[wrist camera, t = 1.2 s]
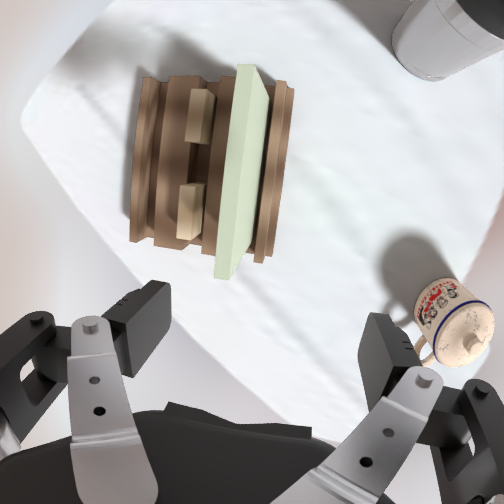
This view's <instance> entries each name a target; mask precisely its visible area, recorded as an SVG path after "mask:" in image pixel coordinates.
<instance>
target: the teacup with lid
mask: <svg viewBox="0 0 504 504" xmlns="http://www.w3.org/2000/svg"><path fill="white" fill-rule="evenodd" d="M414 316H415V321H416V323H417V325H418V327H419V328H420V330H421V332H422V333H423V335H422V336H421V337H420V338H419V339H418V341H417V342H416V344H415V346H414V350H415V351H416V353H417V355H418V357H419V356H420V351H421V349H422V347H423V346H424V344H425V343H426V342H427V341H428V343H429V344H430V346H431V347H432V349H433V352H432V353H431V354H430V355H429V356H428V357H426V358H425V359H423V360H420V361H421V363H422V365H423V367H427V366H429V365H430V364H432V363H433V362H434V361H435V360H436V359H437V360H438V361H439V362H440V363H441V364H443V365H445V366H448V367H460V366H464V365H466V364H468V363H470V362H472V361H473V360H475V359H476V358H477V357H478V356H479V355H480V354H481V353H482V352H483V351H484V350H485V349H486V347H487V346H488V344H489V342H490V340H491V338H492V335H493V331H494V316H493V313H492V310H491V308H490V307H489V306H488V305H487V304H486V303H484V302H482V301H480V300H479V299H478V298H476V297H475V296H474V295H473V294H472V293H471V292H470V291H468V290H467V289H466V288H465V287H464V286H463V285H462V284H460V283H459V282H458V281H456V280H454V279H451V278H442V279H438V280H436V281H434V282H432V283H431V284H429V285H428V286H427V287H426V288H425V289H424V290H423V291H422V293H421V294H420V296H419V297H418V299H417V302H416V305H415V310H414ZM419 359H420V358H419Z"/></svg>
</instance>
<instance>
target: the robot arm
mask: <svg viewBox="0 0 504 504" xmlns="http://www.w3.org/2000/svg"><path fill="white" fill-rule="evenodd" d="M392 47H393V50H394V53H395V55H396V57H397V58H398V60H399V61H400V63H401V64H402V65H403V66H404V67H405V68H406V69H407V70H408V71H409V72H410V73H412V74H414V75H415V76H417V77H419V78H421V79H424V80H428V81H439V80H443V79H445V78H446V77H448V76H450V75H452V74H454V73H456V72H458V71H460V70H462V69H464V68H466V67H468V66H470V65H472V64H474V63H476V62H478V61H480V60H482V59H484V58H486V57H488V56H490V55H492V54H495V53H497V52H499V51H501V50H503V49H504V0H414V1H413V2H412V3H411V5H410V6H409V7H408V9H407V10H406V11H405V13H404V14H403V16H402V19H401V20H400V21H399V23H398V24H397V26H396V27H395V29H394V30H393V33H392ZM170 324H171V286H170V284H169V283H167V282H161V281H156V280H151V281H149V282H148V283H147V284H146V285H145V286H144V287H143V288H141V289H137V290H134V291H132V292H129V293H128V294H126V296H124V297H123V298H122V300H119V301H118V302H117V303H116V304H115V305H113V306H112V307H111V308H110V309H109V310H108V311H106V312H105V313H104V314H103V315H102V316H101V317H99V316H86V317H82V318H80V319H78V320H76V321H75V322H74V323H73V324H72V327H64V326H56V325H55V321H54V316H53V315H52V314H51V313H49V312H46V311H36V312H32V313H29V314H27V315H25V316H24V317H23V318H21V319H20V320H19V321H17V322H16V323H15V324H14V325H12V326H11V327H10V328H8V329H7V330H6V331H4V332H3V333H2V334H1V335H0V504H395V503H394V502H393V501H392V500H391V499H390V498H389V497H388V496H387V495H385V494H384V493H383V492H384V491H385V489H386V488H387V487H388V485H389V484H390V482H391V481H392V479H393V478H394V476H395V475H396V473H397V472H398V470H399V469H400V467H401V466H402V464H403V463H404V461H405V459H406V458H407V456H408V455H409V453H410V451H411V450H412V448H413V446H414V445H415V443H420V444H425V445H430V449H431V453H432V457H433V462H434V466H435V470H436V475H437V480H438V485H439V490H440V496H441V501H442V504H504V405H503V403H502V401H501V400H500V398H499V396H498V395H497V392H496V391H495V389H494V388H493V387H492V386H491V385H490V384H489V383H487V382H485V381H483V380H480V379H470V380H468V381H467V382H466V383H465V385H464V386H463V388H462V390H459V389H454V388H450V387H446V386H443V379H442V378H441V376H440V375H439V374H438V373H437V372H435V371H434V370H432V369H430V368H427V367H423V365H422V363H421V361H420V359H419V357H418V355H417V353H416V351H415V350H414V347H413V345H412V343H411V341H410V339H409V337H408V335H407V334H406V333H405V332H404V331H403V330H401V329H400V328H399V327H395V326H394V324H393V322H392V320H391V318H390V316H389V314H382V313H372V312H371V313H370V314H369V316H368V318H367V322H366V325H365V328H364V332H363V335H362V338H361V342H360V345H359V349H358V363H359V367H360V372H361V376H362V381H363V385H364V390H365V395H366V400H367V404H368V409H369V414H368V415H367V416H366V417H365V418H364V419H363V421H362V422H361V423H360V424H359V425H358V426H357V427H356V428H355V429H354V431H353V432H352V433H351V434H350V435H349V436H348V437H347V438H346V439H345V440H344V441H343V442H342V443H341V444H340V446H338V447H337V448H335V447H333V446H332V445H330V444H328V443H326V442H323V441H321V440H318V439H316V438H312V427H306V426H297V425H288V424H279V423H267V424H235V423H232V422H230V421H227V420H225V419H222V418H220V417H218V416H215V415H213V414H210V413H208V412H206V411H204V410H201V409H197V408H192V407H188V406H184V405H180V404H176V403H172V402H168V404H167V406H166V408H165V409H164V411H162V410H150V411H142V412H137V413H133V414H132V412H131V409H130V405H129V402H128V398H127V394H126V391H125V387H124V383H123V380H122V376H121V375H125V376H128V377H131V378H134V377H135V375H136V374H137V373H138V371H139V370H140V368H141V367H142V366H143V364H144V363H145V362H146V360H147V359H148V357H149V356H150V355H151V353H152V352H153V350H154V349H155V348H156V346H157V345H158V344H159V342H160V341H161V340H162V338H163V337H164V336H165V334H166V333H167V332H168V330H169V327H170ZM30 359H32V362H33V365H34V368H35V369H34V370H33V371H32V372H31V373H30V374H29V375H28V376H27V377H26V378H25V379H24V380H23V381H22V382H21V380H20V371H21V369H22V367H23V366H24V365H25V364H26V363H27V362H28V361H29V360H30ZM67 384H68V397H69V411H70V422H71V432H72V436H69V437H66V438H63V439H60V440H56V441H53V442H50V443H47V444H44V445H40V446H37V447H33V448H30V449H26V450H22V451H20V448H21V447H20V444H21V442H22V441H23V440H24V439H25V437H26V436H27V435H28V433H29V432H30V431H31V429H32V428H33V427H34V425H35V424H36V423H37V422H38V420H39V419H40V418H41V417H42V415H43V414H44V413H45V411H46V410H47V409H48V408H49V406H50V405H51V403H53V401H54V400H55V399H56V397H57V396H58V395H59V394H60V393H61V391H62V390H63V389H64V388H65V387H66V385H67ZM471 437H472V439H473V441H474V444H475V453H474V456H473V455H472V452H471V450H470V447H469V444H468V441H469V440H470V438H471Z"/></svg>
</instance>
